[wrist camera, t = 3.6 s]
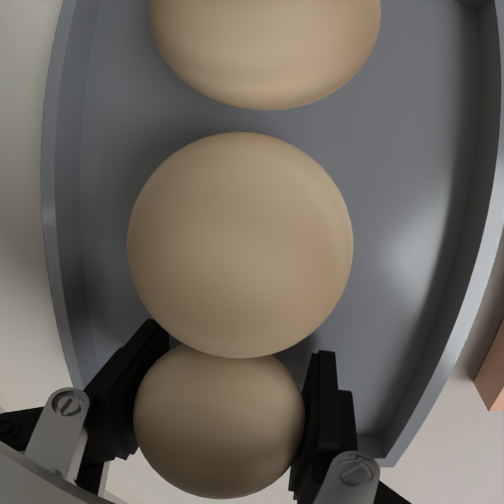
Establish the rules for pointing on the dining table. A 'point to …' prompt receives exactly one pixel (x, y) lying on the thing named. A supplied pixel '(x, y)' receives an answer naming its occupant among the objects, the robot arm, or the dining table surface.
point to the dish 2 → (493, 374)
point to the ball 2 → (240, 245)
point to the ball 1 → (265, 47)
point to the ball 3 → (218, 422)
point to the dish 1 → (333, 162)
